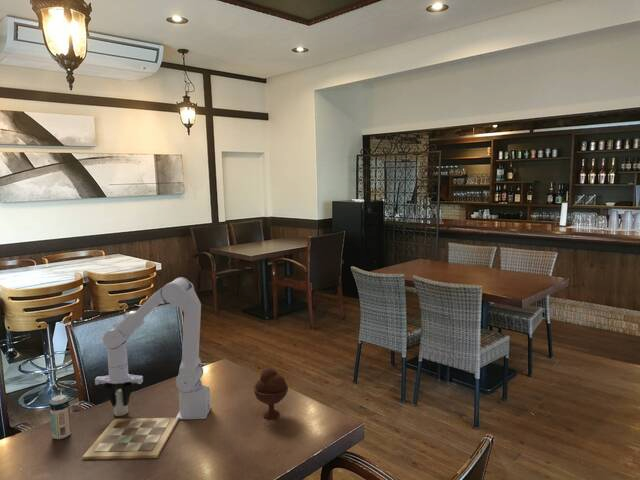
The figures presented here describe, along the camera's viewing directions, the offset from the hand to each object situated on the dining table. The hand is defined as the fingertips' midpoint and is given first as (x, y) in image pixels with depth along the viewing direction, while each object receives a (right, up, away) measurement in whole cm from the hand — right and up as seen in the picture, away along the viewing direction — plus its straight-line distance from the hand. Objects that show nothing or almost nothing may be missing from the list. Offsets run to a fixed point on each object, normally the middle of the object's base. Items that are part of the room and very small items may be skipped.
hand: (120, 404), depth 147 cm
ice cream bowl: (+49, -3, -2) cm, 49 cm away
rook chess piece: (0, -3, 0) cm, 3 cm away
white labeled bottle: (-12, -5, -13) cm, 18 cm away
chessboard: (+10, -5, -14) cm, 18 cm away
